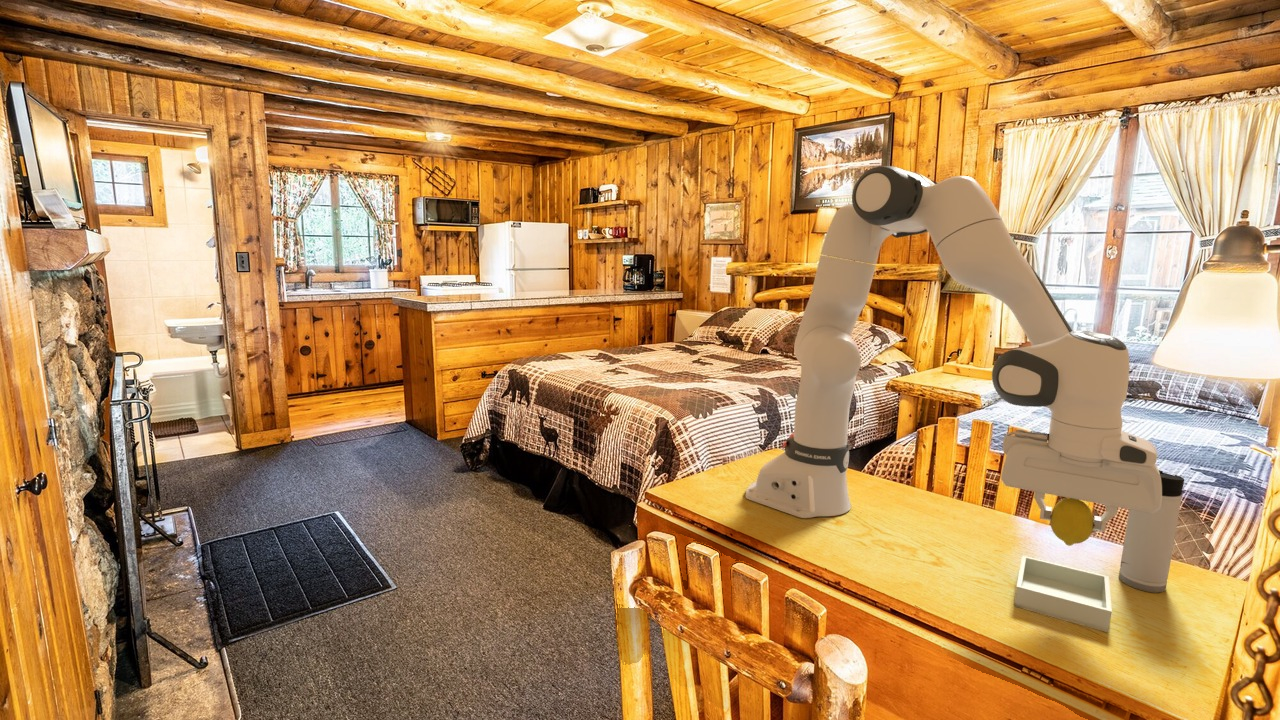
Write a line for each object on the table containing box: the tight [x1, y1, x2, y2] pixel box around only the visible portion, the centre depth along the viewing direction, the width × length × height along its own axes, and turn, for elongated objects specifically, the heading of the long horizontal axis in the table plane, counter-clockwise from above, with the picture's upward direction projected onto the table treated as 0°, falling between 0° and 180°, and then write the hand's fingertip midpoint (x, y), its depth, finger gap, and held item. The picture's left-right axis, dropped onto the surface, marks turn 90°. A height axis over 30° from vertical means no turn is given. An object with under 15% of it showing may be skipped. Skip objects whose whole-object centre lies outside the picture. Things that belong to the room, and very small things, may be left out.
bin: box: [1013, 554, 1113, 634], centre depth 100 cm, size 12×12×3 cm
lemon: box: [1050, 497, 1094, 547], centre depth 98 cm, size 6×6×8 cm
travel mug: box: [1118, 469, 1185, 593], centre depth 104 cm, size 6×7×20 cm
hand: (1071, 524), depth 98 cm, fingers closed on lemon, 5 cm apart
